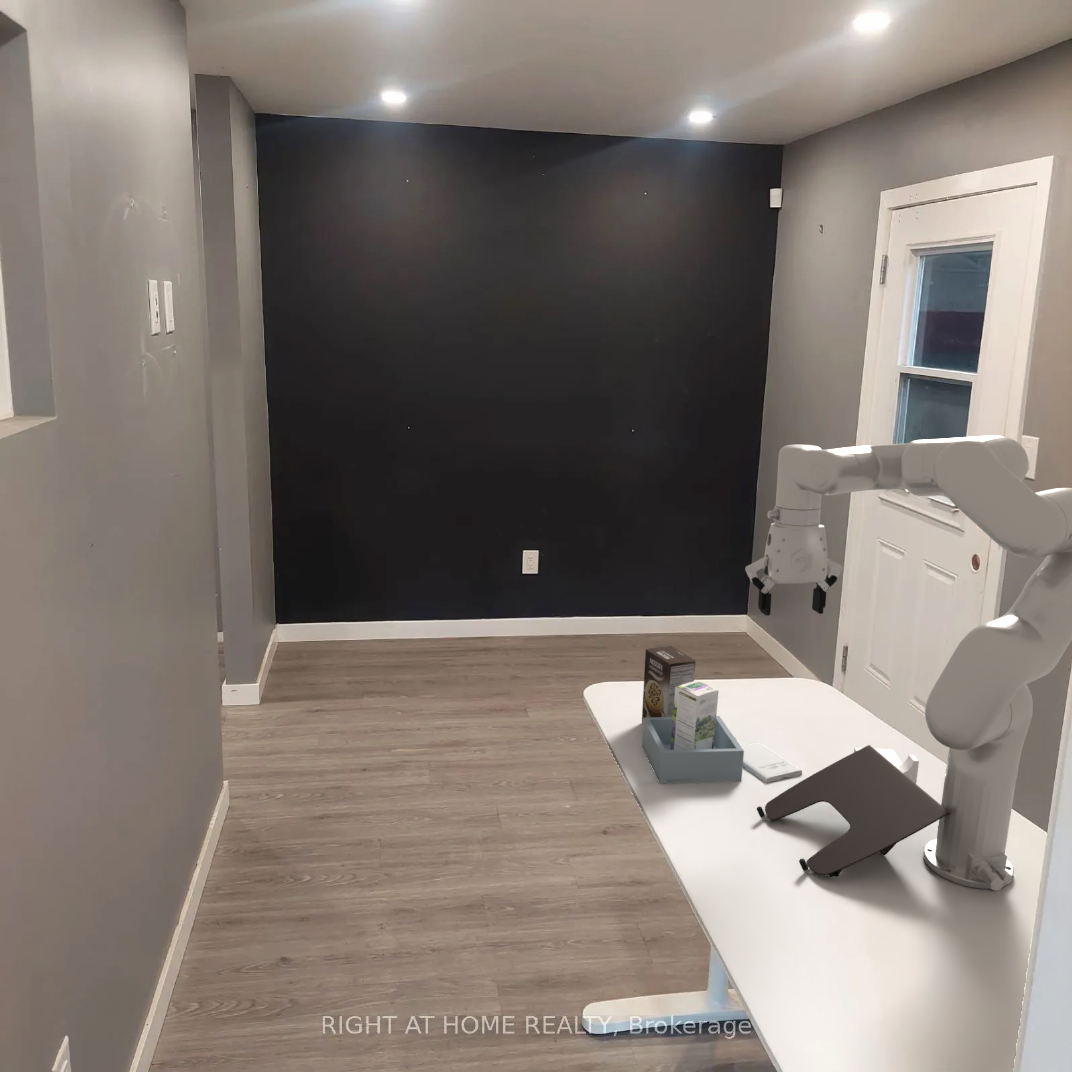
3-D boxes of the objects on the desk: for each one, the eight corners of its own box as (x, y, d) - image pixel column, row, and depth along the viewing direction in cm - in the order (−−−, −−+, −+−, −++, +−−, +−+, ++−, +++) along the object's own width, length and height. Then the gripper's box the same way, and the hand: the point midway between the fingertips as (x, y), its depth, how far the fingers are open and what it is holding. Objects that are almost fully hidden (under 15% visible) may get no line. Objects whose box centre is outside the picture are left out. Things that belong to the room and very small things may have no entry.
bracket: (913, 801, 165) (919, 761, 163) (872, 798, 165) (877, 759, 164) (890, 766, 178) (895, 729, 176) (852, 764, 178) (856, 727, 176)
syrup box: (690, 750, 180) (694, 678, 177) (713, 761, 175) (719, 688, 172) (669, 758, 176) (673, 685, 173) (692, 770, 172) (697, 695, 169)
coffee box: (640, 723, 193) (644, 648, 190) (666, 718, 196) (671, 644, 192) (664, 741, 185) (668, 663, 182) (691, 735, 188) (696, 659, 184)
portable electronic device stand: (766, 839, 162) (747, 797, 160) (882, 777, 164) (865, 734, 161) (831, 922, 140) (810, 875, 138) (964, 849, 142) (946, 801, 139)
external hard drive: (759, 749, 184) (801, 777, 173) (724, 756, 181) (765, 785, 170) (759, 741, 184) (802, 769, 173) (725, 748, 180) (766, 777, 170)
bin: (741, 781, 170) (743, 750, 168) (659, 783, 168) (661, 752, 167) (717, 744, 184) (719, 716, 183) (641, 746, 183) (643, 717, 181)
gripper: (756, 521, 158) (751, 620, 162) (855, 520, 160) (847, 617, 164) (741, 513, 165) (736, 608, 169) (835, 512, 168) (828, 605, 171)
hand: (791, 612), depth 166 cm, fingers open, 9 cm apart
